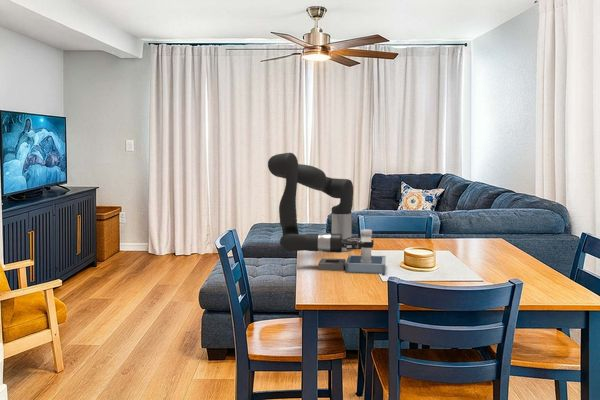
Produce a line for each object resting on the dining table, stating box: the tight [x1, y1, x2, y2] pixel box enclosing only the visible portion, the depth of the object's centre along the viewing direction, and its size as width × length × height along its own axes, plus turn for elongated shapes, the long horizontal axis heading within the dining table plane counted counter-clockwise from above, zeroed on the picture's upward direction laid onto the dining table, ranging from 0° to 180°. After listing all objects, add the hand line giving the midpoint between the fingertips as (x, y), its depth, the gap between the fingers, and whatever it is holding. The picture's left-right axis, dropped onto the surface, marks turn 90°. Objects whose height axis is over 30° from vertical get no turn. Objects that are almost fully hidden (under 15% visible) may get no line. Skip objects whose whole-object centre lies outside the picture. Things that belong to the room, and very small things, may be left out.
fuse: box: [360, 228, 373, 264], centre depth 227 cm, size 4×4×14 cm
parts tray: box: [344, 254, 386, 276], centre depth 228 cm, size 16×15×4 cm
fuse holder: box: [317, 257, 347, 272], centre depth 230 cm, size 10×10×3 cm
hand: (373, 243), depth 226 cm, fingers closed on fuse, 3 cm apart
